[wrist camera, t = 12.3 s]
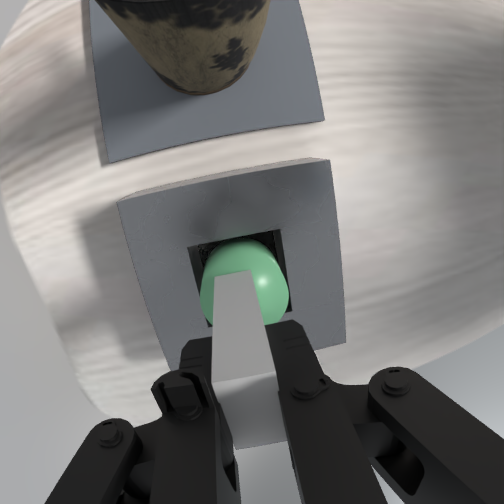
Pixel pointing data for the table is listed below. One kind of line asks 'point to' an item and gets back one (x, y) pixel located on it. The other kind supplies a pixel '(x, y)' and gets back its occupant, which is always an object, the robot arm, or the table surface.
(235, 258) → the button
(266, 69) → the mat
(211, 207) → the button box
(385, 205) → the table surface
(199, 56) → the mug
